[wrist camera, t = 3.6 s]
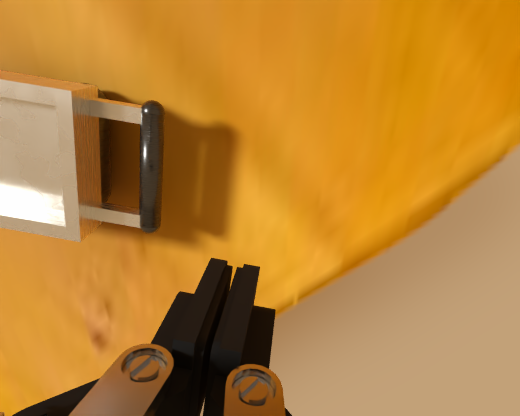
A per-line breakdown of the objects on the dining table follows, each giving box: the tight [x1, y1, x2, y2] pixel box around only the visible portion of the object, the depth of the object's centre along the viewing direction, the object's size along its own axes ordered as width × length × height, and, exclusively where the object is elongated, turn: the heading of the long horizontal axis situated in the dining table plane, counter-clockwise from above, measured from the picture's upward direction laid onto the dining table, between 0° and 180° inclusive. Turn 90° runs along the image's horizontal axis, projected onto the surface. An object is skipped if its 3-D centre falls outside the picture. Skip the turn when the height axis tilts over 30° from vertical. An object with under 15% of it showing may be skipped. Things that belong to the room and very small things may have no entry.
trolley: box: [0, 70, 165, 242], centre depth 21 cm, size 13×8×5 cm, turn 82°
